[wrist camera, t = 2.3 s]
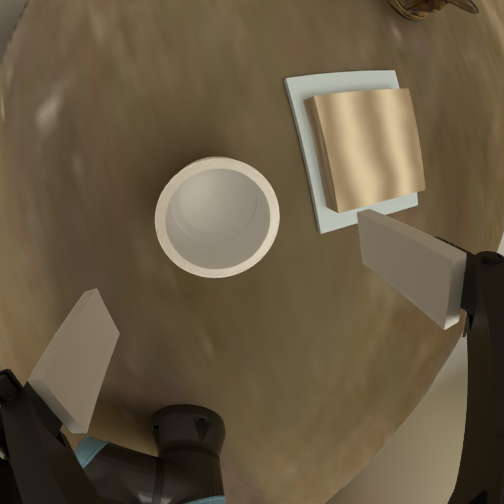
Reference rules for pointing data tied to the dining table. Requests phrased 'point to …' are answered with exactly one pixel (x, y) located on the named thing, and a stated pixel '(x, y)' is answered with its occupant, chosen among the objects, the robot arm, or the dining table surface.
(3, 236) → the dining table surface
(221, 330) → the dining table surface
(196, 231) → the jar
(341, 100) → the tan flat block
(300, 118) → the board
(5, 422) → the robot arm
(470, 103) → the dining table surface
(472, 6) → the wooden mug
